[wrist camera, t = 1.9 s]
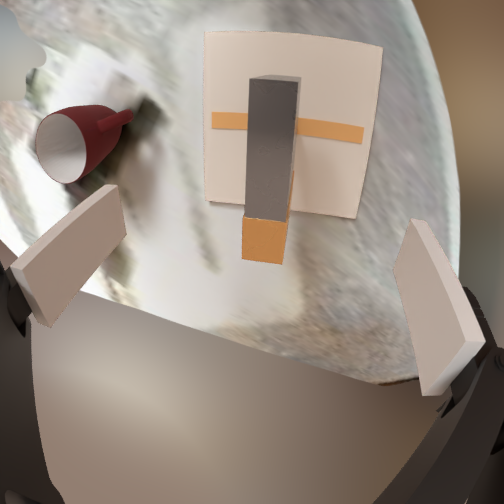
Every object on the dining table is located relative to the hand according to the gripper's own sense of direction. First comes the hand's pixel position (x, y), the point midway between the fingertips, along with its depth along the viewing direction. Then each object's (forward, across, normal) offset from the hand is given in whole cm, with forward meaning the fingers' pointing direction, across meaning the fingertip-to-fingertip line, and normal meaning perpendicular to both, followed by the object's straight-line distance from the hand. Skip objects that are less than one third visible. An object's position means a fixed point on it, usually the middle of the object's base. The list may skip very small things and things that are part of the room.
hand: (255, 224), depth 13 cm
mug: (+22, -21, 0) cm, 30 cm away
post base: (+22, 0, 0) cm, 22 cm away
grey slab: (+13, 0, 0) cm, 13 cm away
